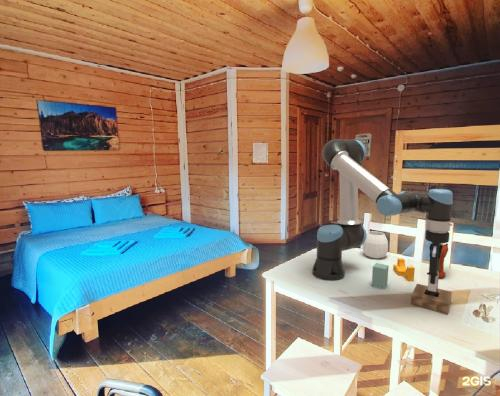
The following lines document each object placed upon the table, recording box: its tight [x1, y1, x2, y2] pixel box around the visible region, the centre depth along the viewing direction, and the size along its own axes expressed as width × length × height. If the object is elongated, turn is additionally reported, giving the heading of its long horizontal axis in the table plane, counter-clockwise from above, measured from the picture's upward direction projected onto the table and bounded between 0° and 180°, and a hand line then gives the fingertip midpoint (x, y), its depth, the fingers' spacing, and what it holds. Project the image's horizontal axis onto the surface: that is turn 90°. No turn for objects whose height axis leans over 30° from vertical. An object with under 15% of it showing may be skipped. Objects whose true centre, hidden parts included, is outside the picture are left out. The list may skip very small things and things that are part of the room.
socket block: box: [410, 283, 453, 315], centre depth 113 cm, size 12×12×4 cm
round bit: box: [427, 271, 440, 297], centre depth 112 cm, size 3×3×10 cm
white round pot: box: [362, 230, 389, 260], centre depth 163 cm, size 13×13×14 cm
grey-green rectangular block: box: [371, 262, 389, 290], centre depth 128 cm, size 5×5×9 cm
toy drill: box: [439, 243, 449, 279], centre depth 140 cm, size 5×19×15 cm, turn 137°
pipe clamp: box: [392, 257, 416, 282], centre depth 138 cm, size 12×4×6 cm, turn 176°
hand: (432, 289), depth 112 cm, fingers closed on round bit, 2 cm apart
